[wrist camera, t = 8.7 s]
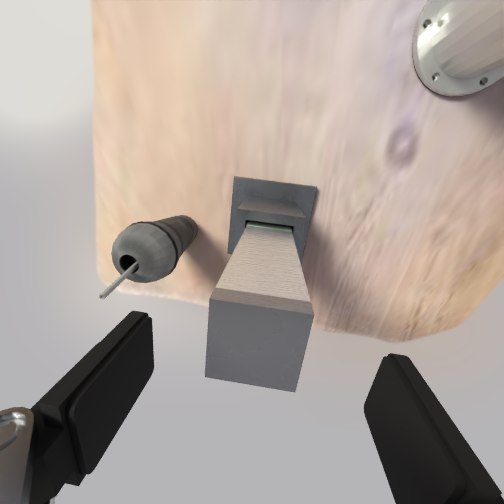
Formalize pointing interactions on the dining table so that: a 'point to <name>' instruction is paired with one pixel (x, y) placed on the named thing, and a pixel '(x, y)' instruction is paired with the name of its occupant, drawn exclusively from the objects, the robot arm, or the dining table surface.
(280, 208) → the stand
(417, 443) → the robot arm
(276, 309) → the column
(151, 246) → the beverage cup
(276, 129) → the dining table surface
